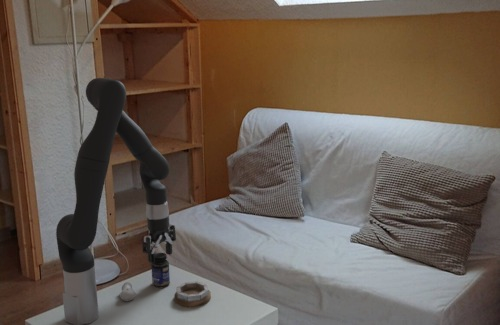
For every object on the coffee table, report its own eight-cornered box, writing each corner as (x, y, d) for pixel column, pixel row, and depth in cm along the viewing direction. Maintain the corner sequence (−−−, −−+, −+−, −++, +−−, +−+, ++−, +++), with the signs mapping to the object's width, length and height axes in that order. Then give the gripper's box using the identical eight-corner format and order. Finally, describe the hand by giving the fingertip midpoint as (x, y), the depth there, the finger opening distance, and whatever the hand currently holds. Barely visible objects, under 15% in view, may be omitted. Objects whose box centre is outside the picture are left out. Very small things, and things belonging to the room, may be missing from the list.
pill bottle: (166, 288, 183) (164, 259, 180) (149, 287, 184) (148, 258, 182) (172, 281, 189) (170, 252, 186) (156, 279, 190) (154, 251, 187)
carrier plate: (195, 310, 168) (195, 300, 167) (167, 301, 175) (166, 291, 174) (217, 295, 178) (217, 286, 177) (190, 286, 184) (189, 277, 184)
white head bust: (133, 305, 174) (118, 302, 173) (135, 293, 182) (120, 290, 181) (136, 294, 174) (121, 290, 173) (138, 282, 181) (123, 279, 180)
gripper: (163, 206, 188) (166, 249, 192) (134, 219, 177) (138, 263, 181) (179, 210, 184) (182, 253, 188) (151, 223, 172) (154, 268, 177)
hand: (160, 258), depth 184 cm, fingers open, 8 cm apart
